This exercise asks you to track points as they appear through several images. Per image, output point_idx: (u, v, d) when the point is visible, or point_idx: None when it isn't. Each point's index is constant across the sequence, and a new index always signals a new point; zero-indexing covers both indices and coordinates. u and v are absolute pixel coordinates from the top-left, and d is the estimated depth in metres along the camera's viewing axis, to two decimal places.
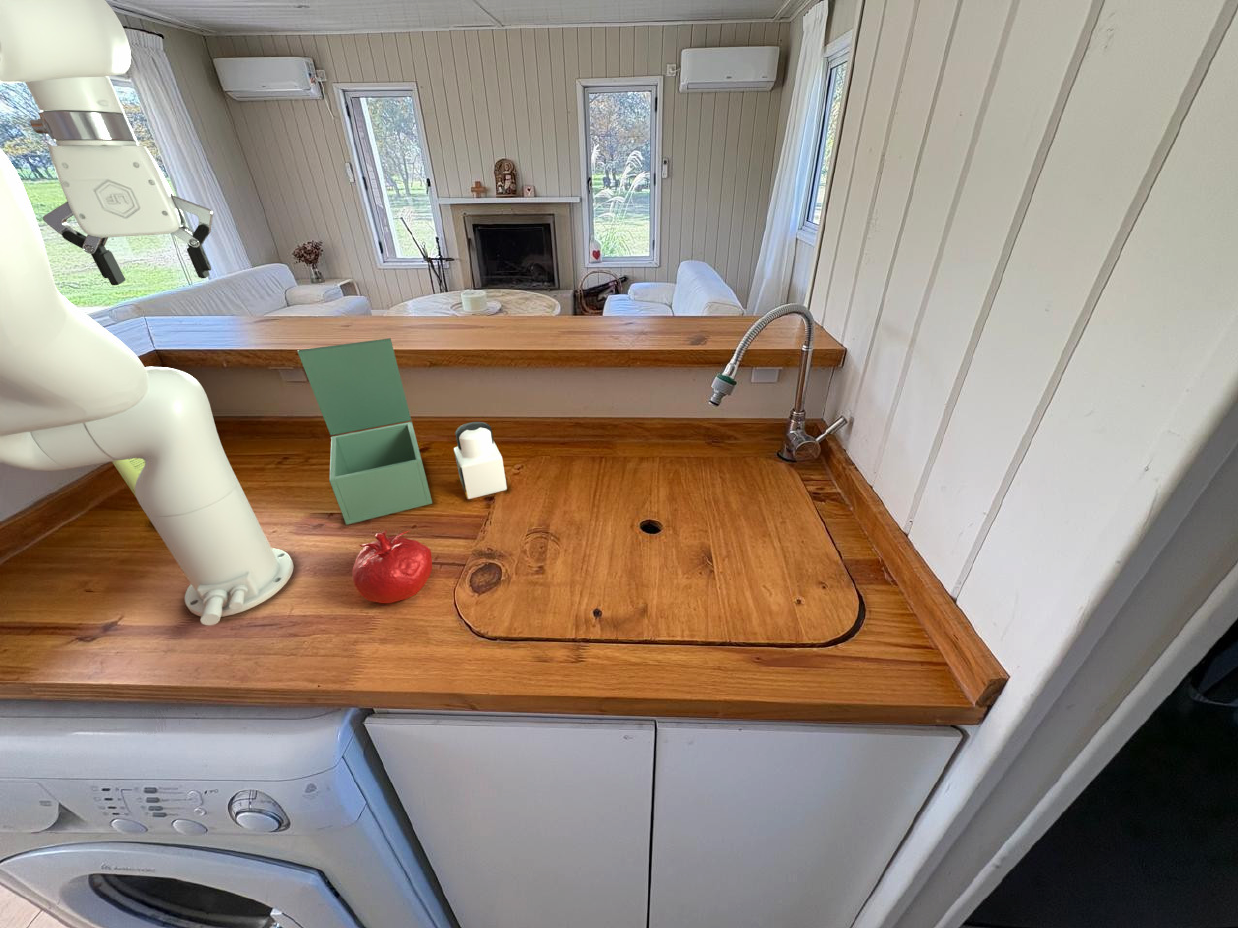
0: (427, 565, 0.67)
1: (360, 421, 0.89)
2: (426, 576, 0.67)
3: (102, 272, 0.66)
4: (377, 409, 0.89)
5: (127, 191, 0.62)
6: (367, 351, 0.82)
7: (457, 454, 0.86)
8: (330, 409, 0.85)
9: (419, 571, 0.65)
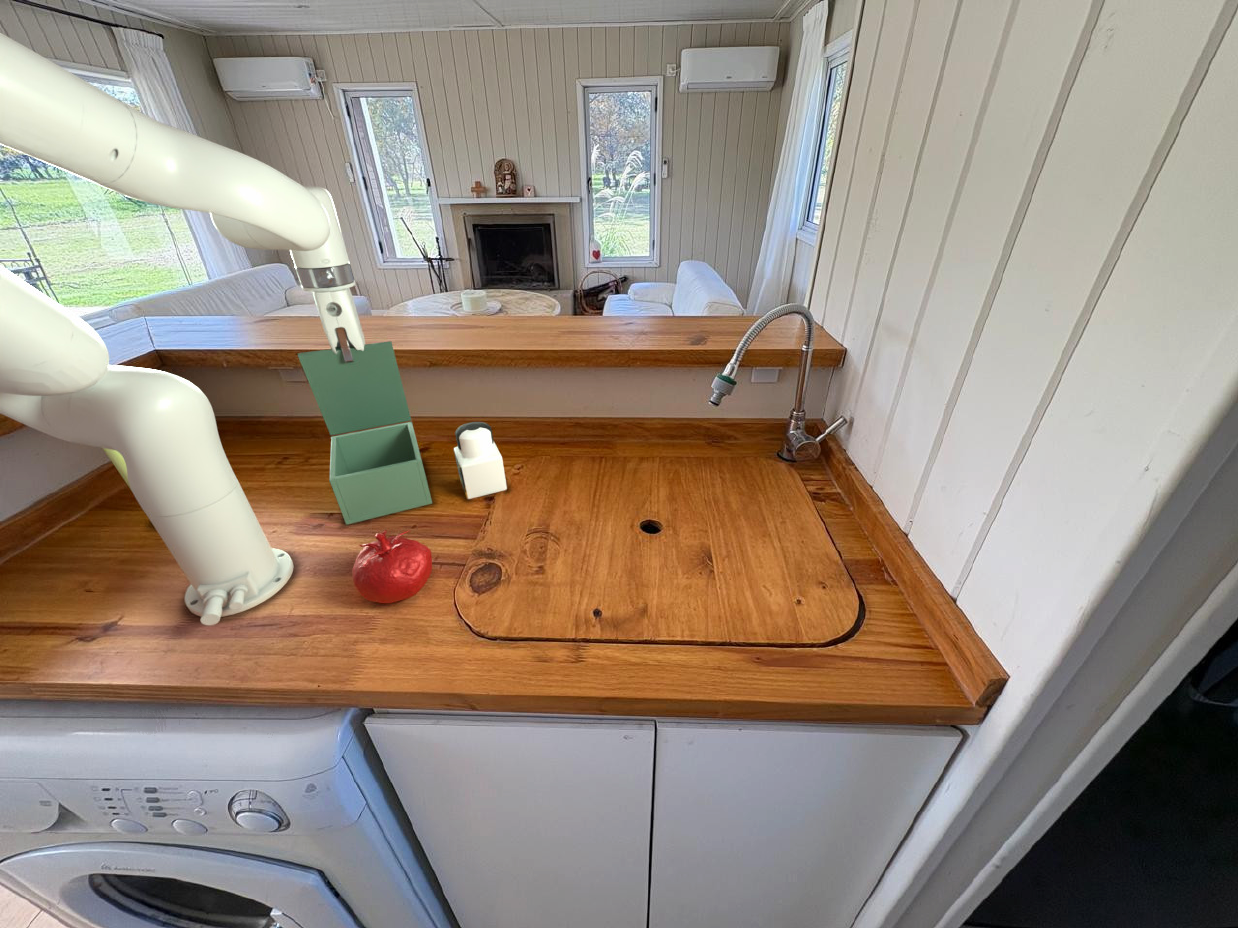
0: (427, 565, 0.67)
1: (360, 421, 0.89)
2: (426, 576, 0.67)
3: None
4: (377, 410, 0.89)
5: None
6: (368, 354, 0.81)
7: (457, 454, 0.86)
8: (330, 410, 0.85)
9: (419, 571, 0.65)
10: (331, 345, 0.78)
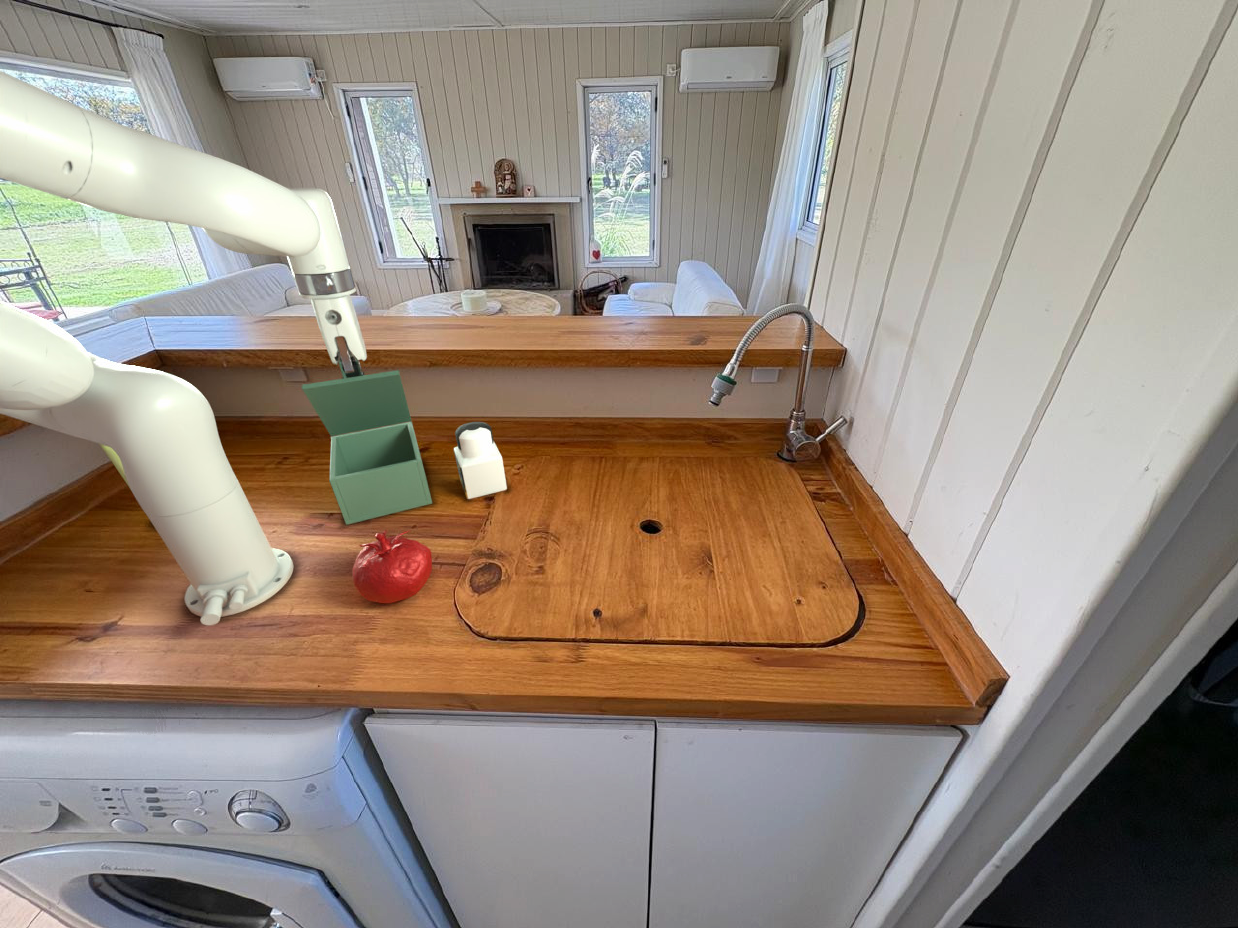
0: (427, 565, 0.67)
1: (361, 425, 0.88)
2: (426, 576, 0.67)
3: None
4: (379, 417, 0.88)
5: (357, 320, 0.79)
6: (374, 383, 0.78)
7: (457, 454, 0.86)
8: (332, 421, 0.84)
9: (419, 571, 0.65)
10: (330, 355, 0.74)
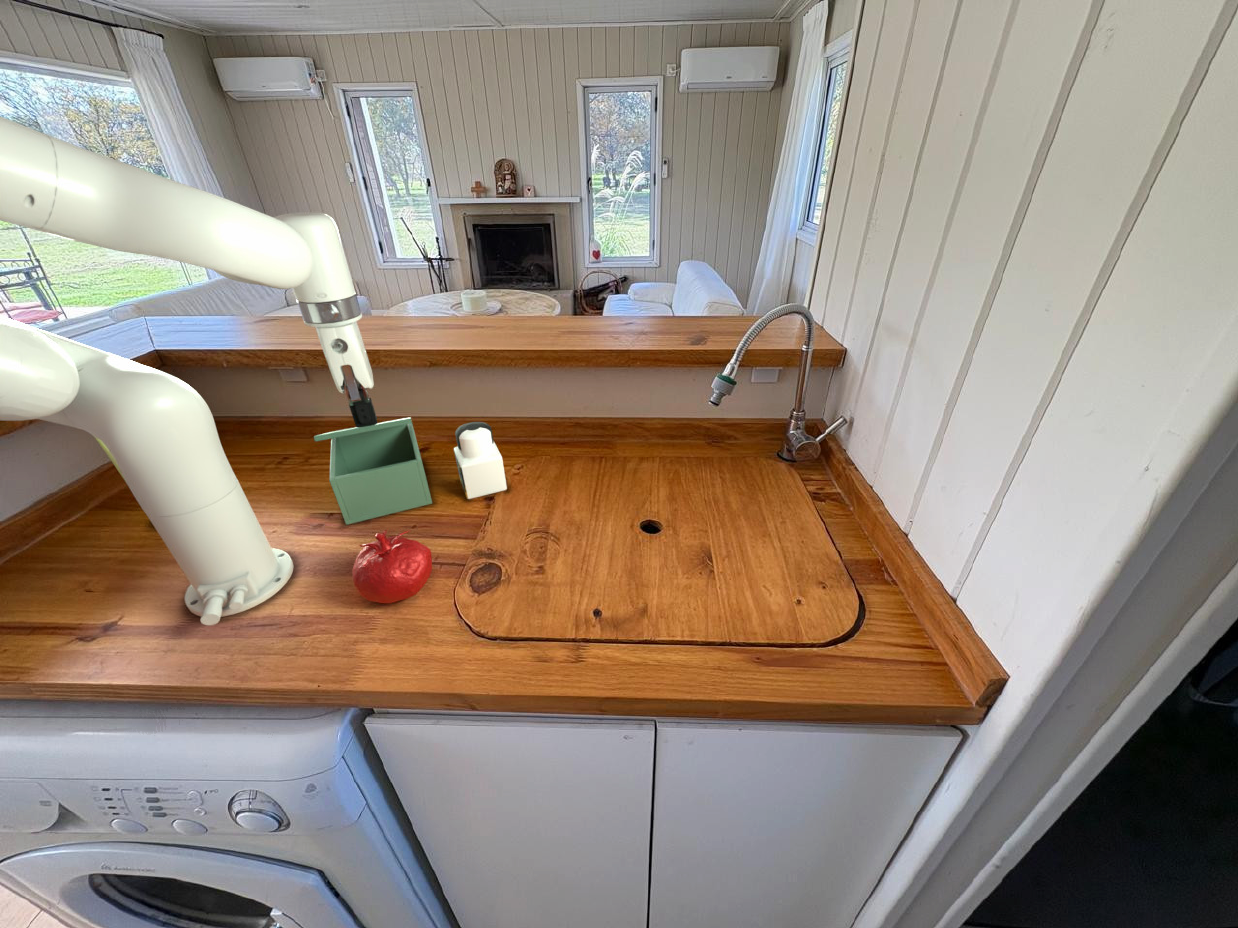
0: (427, 565, 0.67)
1: None
2: (426, 576, 0.67)
3: (369, 417, 0.79)
4: None
5: None
6: None
7: (457, 454, 0.86)
8: None
9: (419, 571, 0.65)
10: (336, 384, 0.71)
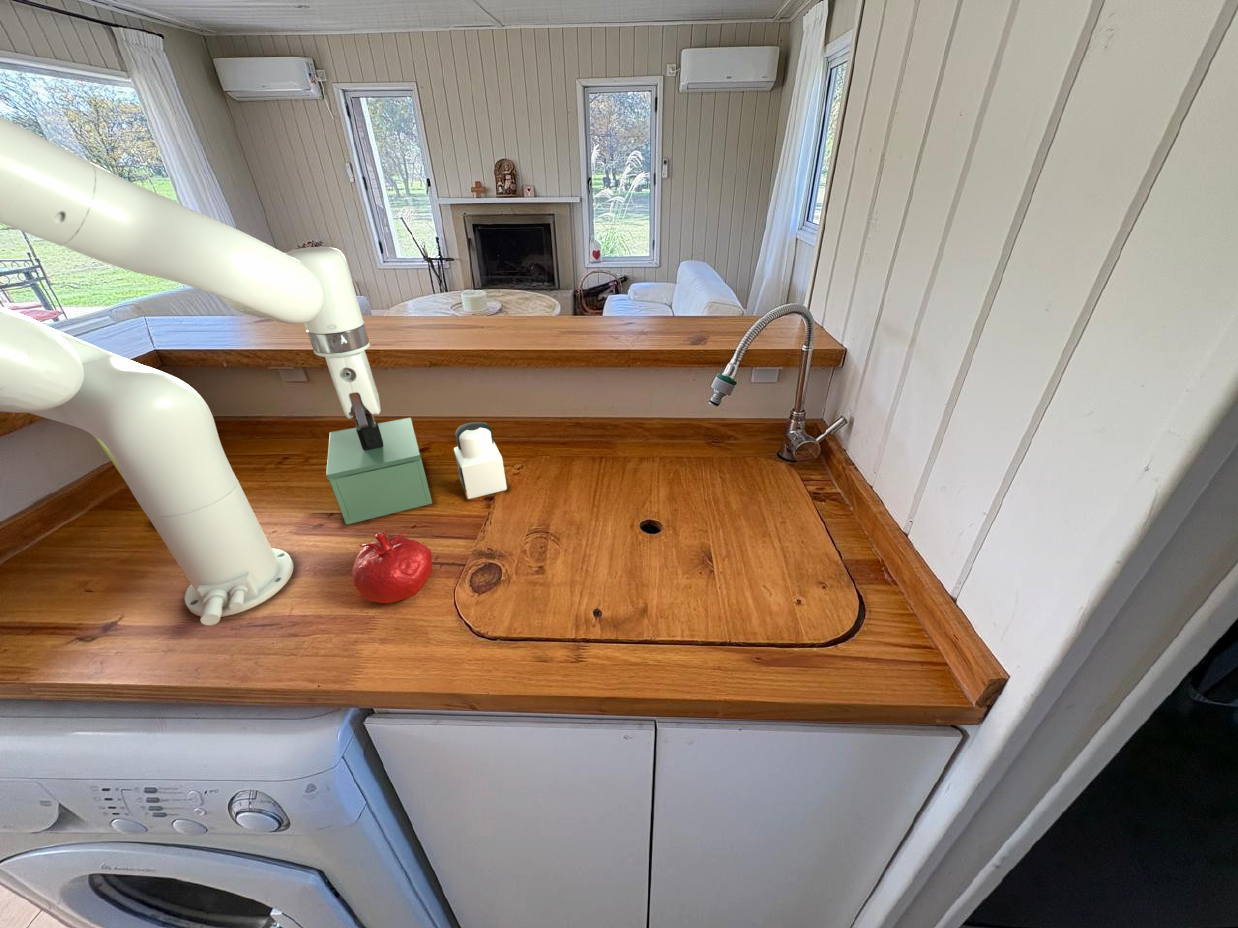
0: (427, 565, 0.67)
1: None
2: (426, 576, 0.67)
3: (376, 440, 0.81)
4: None
5: (371, 372, 0.78)
6: None
7: (457, 454, 0.86)
8: None
9: (419, 571, 0.65)
10: (345, 410, 0.74)
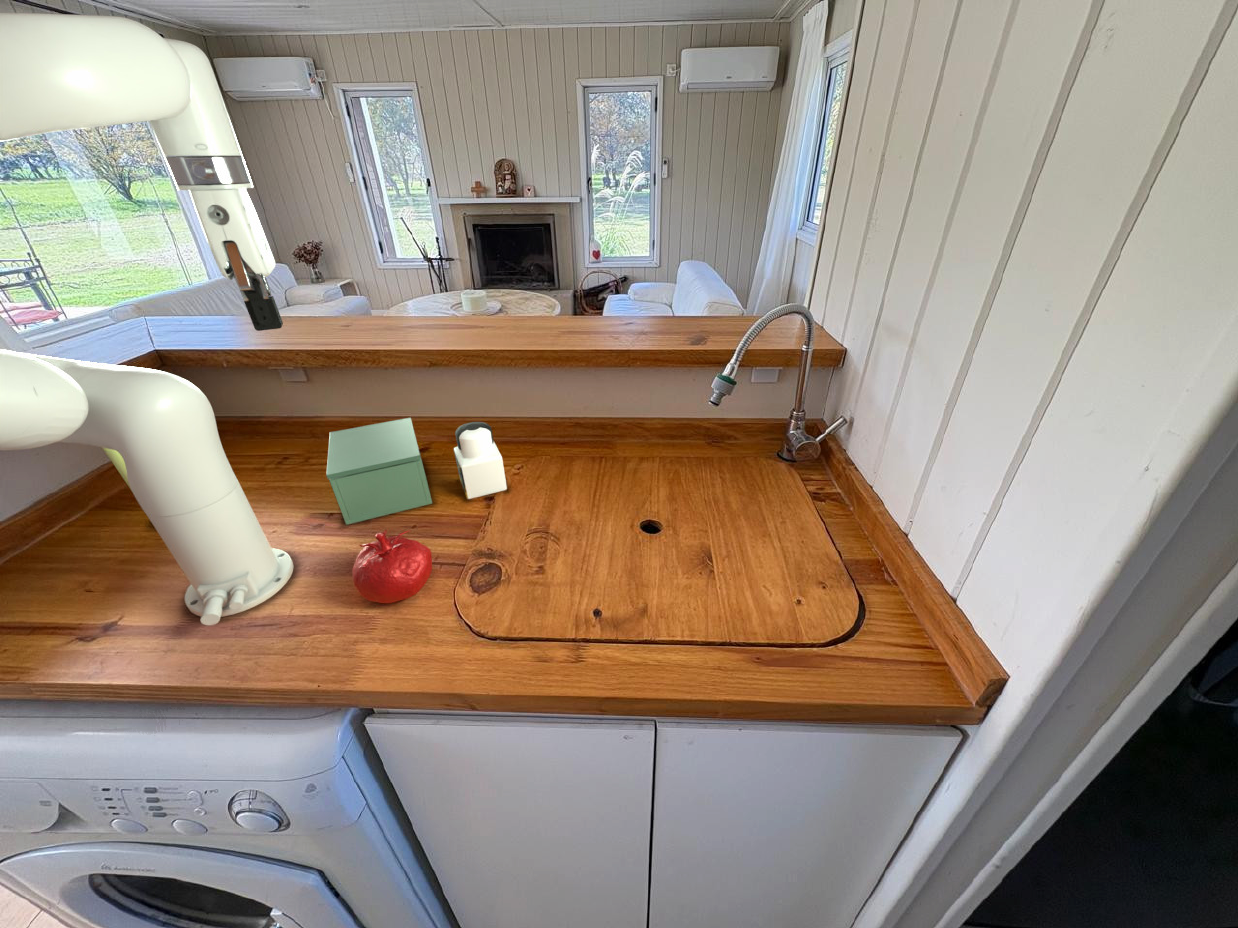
0: (427, 565, 0.67)
1: None
2: (426, 576, 0.67)
3: (271, 317, 0.67)
4: None
5: (260, 229, 0.64)
6: None
7: (457, 454, 0.86)
8: None
9: (419, 571, 0.65)
10: (219, 265, 0.60)
